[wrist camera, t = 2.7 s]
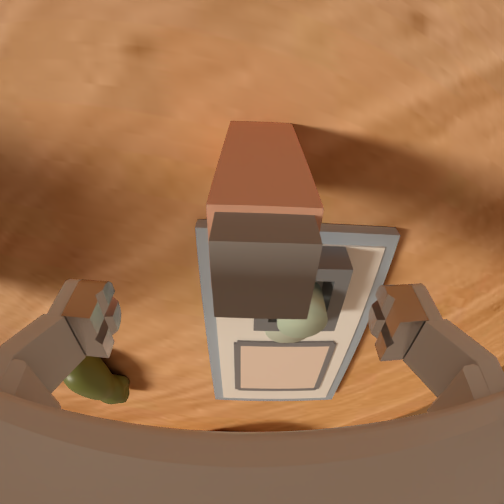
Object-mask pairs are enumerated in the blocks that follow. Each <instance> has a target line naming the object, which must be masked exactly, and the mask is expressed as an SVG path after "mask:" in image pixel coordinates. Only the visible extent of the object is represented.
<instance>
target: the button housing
mask: <svg viewBox="0 0 504 504" xmlns="http://www.w3.org/2000/svg"><path fill="white" fill-rule="evenodd" d="M352 273H353V267H352V264H351V261H350V258H349V255H348V252H347V250H346V247H340V246H322V251H321V256H320V261H319V266H318V271H317V276H316V281H324V282H323V286H322V292H323V297H324V302H325V307H326V312H327V317H328V322H327V325H326V326H325V328H324V329H323V330H322V331H334V330H335V328H336V325H337V322H338V318H339V315H340V312H341V309H342V306H343V303H344V300H345V297H346V293H347V290H348V287H349V283H350V280H351V277H352ZM253 331H279V329H278V327H277V319H254V326H253Z"/></svg>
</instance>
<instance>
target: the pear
mask: <svg viewBox="0 0 504 504" xmlns="http://www.w3.org/2000/svg"><path fill="white" fill-rule="evenodd" d="M63 381H64V383H65V384H66V385H67V387H68V388H69V389H71V390H72V391H73V392H75V393H77V394H79V395H81V396H84V397H87V398H90V399H94V400H101V401H102V402H104V403H107V404H117V403H124V402H126V400H127V399H128V396H129V380H128V378H127V377H125V376H121V375H113V374H112V373H111V372H110V370H109V369H108V367H107V366H106V364H105V363H104V362H103V360H102V359H101V358H100V357H93V356H86V357H85V358H84V359H83V360H82V362H81V363H80V364H79V365H78V366H77V367H76V368H75V369H74V370H73V371H72V372H71V373H70V374H69V375H68V376H67V377H66V378H65V379H64V380H63Z"/></svg>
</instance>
